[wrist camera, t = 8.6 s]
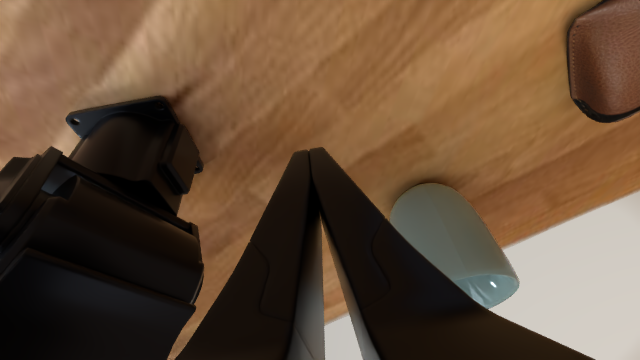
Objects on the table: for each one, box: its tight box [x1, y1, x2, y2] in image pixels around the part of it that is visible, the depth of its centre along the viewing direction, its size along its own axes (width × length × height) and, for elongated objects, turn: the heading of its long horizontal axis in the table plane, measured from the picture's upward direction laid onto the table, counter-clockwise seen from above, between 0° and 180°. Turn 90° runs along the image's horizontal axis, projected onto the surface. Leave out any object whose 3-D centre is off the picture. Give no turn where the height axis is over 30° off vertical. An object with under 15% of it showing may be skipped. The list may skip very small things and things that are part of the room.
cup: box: [389, 183, 519, 309], centre depth 27 cm, size 8×8×10 cm
